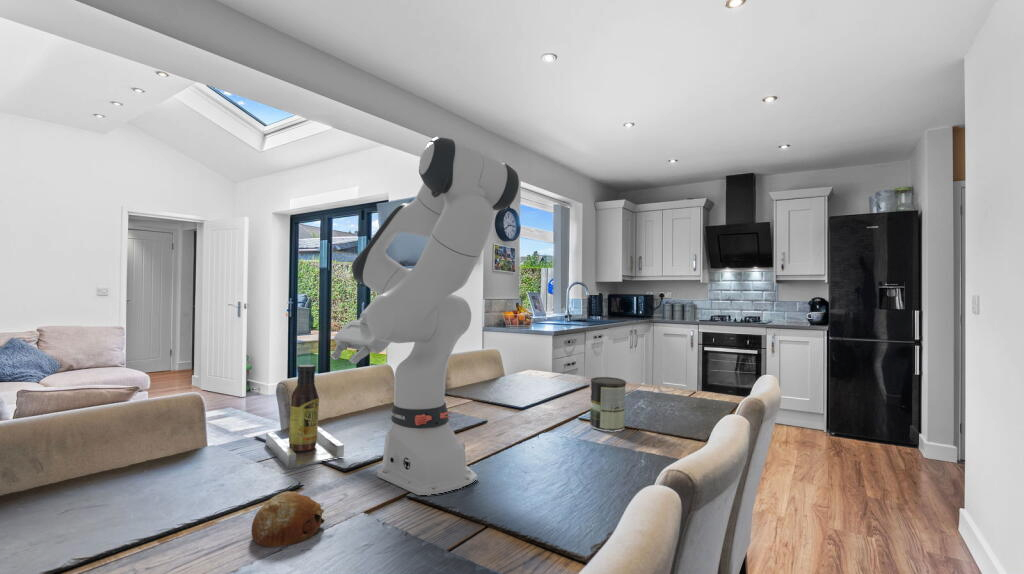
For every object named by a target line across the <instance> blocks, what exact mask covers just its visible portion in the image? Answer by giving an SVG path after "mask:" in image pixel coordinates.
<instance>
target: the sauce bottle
mask: <svg viewBox="0 0 1024 574" xmlns="http://www.w3.org/2000/svg"><path fill="white" fill-rule="evenodd" d="M316 366H317V365H315V364H299V365H297V369H296V370H297V385H296V386H295V388H294V390H293V391H292V394H291V399H290V402H291V403H290V410H289V412H290V413H289V415H290V416H289V426H288V427H289V429H288V431H289V433H288V438H289V443H290V444H289V448H290V449H291V450H293V451H297V452H301V451H308V450H311V449H313V448H315V446H316V441H317V431H318V426H319V408H320V407H319V405H320V396H319V394H318V392H317V391H318V390H317V388H316V385H315V383H316V381H315V377H316V376H315V373H316V369H317V368H316Z"/></svg>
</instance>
